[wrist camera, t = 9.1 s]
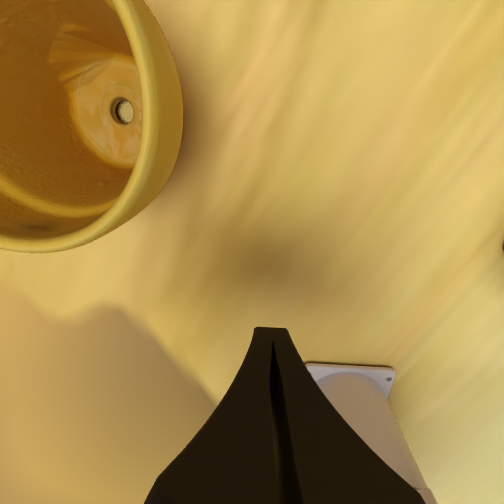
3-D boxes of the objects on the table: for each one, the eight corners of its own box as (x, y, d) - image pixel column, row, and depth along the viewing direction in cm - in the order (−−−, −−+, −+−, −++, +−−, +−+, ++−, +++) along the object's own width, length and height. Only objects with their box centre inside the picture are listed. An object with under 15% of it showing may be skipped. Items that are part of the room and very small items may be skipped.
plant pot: (24, -2, 15) (-352, -217, 6) (215, 16, 15) (143, -168, 6) (61, 191, 19) (-122, 243, 10) (210, 204, 19) (164, 269, 10)
